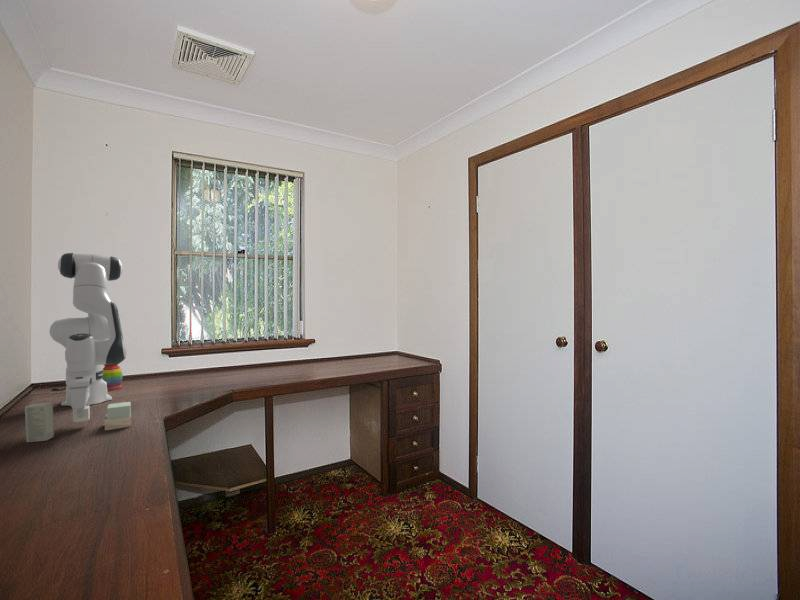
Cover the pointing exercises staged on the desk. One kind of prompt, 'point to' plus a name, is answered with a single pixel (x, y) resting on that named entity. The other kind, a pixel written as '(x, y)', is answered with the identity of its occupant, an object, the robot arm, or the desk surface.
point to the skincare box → (39, 422)
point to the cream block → (85, 417)
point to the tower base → (117, 422)
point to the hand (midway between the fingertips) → (81, 415)
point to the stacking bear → (112, 377)
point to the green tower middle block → (118, 410)
